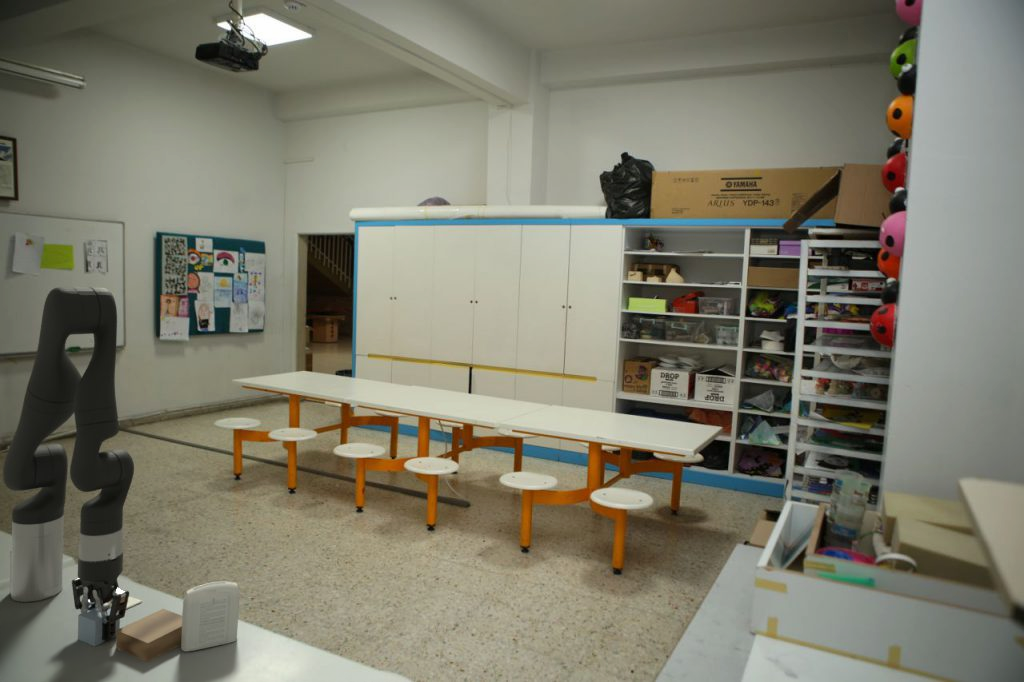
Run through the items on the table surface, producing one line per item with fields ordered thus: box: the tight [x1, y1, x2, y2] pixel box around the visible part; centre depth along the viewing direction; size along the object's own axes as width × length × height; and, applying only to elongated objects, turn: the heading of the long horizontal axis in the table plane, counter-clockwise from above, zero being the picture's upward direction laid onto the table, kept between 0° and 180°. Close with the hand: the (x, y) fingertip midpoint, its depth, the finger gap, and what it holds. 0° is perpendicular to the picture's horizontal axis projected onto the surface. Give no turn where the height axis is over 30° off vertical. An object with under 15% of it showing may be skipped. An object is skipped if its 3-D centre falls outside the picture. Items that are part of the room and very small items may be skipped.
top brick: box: [77, 604, 121, 647], centre depth 128 cm, size 5×5×5 cm
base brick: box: [115, 608, 183, 663], centre depth 127 cm, size 9×10×4 cm
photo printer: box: [180, 580, 240, 652], centre depth 128 cm, size 10×4×12 cm, turn 123°
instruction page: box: [104, 595, 143, 610], centre depth 142 cm, size 9×5×1 cm, turn 67°
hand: (99, 634), depth 128 cm, fingers closed on top brick, 5 cm apart
